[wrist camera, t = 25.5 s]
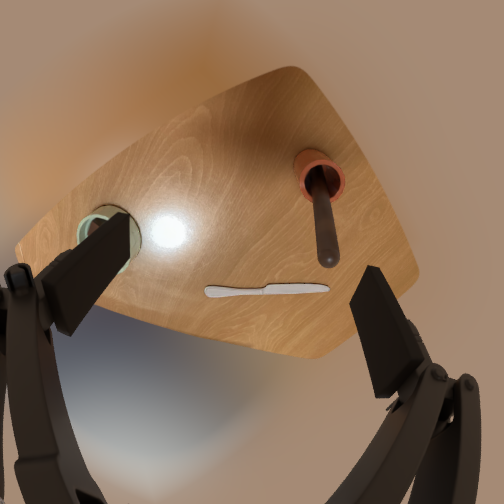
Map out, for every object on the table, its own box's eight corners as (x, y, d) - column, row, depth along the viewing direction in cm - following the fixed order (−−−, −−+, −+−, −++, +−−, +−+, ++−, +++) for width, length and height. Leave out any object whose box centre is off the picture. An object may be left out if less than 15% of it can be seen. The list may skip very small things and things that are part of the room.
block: (101, 213, 45) (91, 220, 42) (115, 223, 46) (105, 231, 43) (96, 227, 47) (86, 234, 44) (109, 237, 48) (100, 245, 45)
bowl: (89, 199, 45) (74, 209, 40) (143, 211, 45) (130, 222, 41) (92, 253, 51) (79, 265, 46) (141, 267, 51) (131, 281, 47)
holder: (298, 144, 38) (307, 154, 30) (333, 155, 39) (351, 168, 30) (289, 178, 41) (294, 197, 32) (323, 188, 41) (336, 209, 33)
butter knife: (202, 285, 51) (205, 297, 53) (330, 283, 49) (329, 295, 50) (203, 284, 52) (205, 296, 53) (330, 281, 49) (328, 294, 51)
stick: (314, 151, 38) (330, 252, 22) (323, 159, 38) (345, 264, 22) (305, 159, 39) (313, 265, 23) (314, 168, 40) (328, 276, 24)
